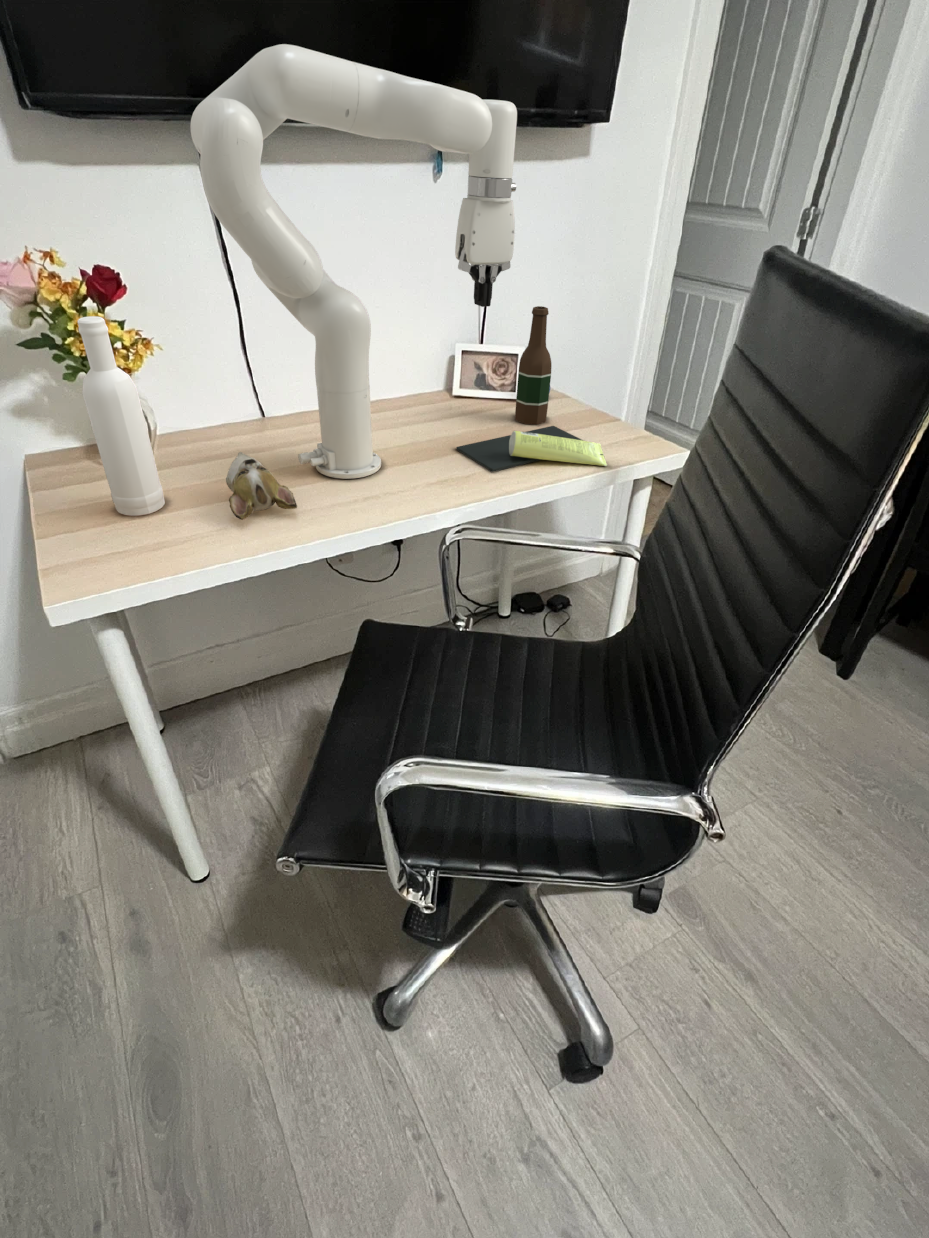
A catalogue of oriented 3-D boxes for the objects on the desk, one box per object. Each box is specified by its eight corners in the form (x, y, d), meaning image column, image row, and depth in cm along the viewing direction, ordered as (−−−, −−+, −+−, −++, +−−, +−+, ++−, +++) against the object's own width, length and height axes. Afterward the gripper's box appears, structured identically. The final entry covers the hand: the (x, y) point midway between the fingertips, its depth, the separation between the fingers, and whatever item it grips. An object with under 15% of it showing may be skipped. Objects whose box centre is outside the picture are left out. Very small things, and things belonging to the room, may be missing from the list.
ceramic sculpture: (268, 438, 120) (297, 474, 110) (274, 482, 126) (302, 521, 116) (206, 448, 116) (231, 487, 106) (215, 494, 121) (239, 535, 111)
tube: (507, 461, 138) (598, 471, 142) (513, 456, 134) (607, 466, 137) (509, 433, 138) (600, 443, 142) (515, 427, 133) (609, 437, 137)
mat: (492, 472, 133) (492, 469, 133) (456, 449, 142) (456, 446, 142) (592, 447, 145) (592, 444, 145) (553, 428, 154) (553, 425, 154)
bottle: (150, 491, 121) (103, 310, 104) (175, 505, 118) (130, 319, 100) (106, 506, 116) (49, 318, 99) (131, 521, 112) (76, 328, 95)
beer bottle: (508, 414, 160) (516, 304, 146) (539, 412, 162) (550, 303, 148) (520, 426, 154) (530, 312, 140) (552, 424, 156) (565, 311, 142)
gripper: (512, 189, 124) (503, 299, 134) (440, 187, 117) (437, 303, 127) (537, 192, 119) (526, 307, 129) (464, 191, 112) (458, 312, 122)
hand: (482, 305), depth 128 cm, fingers closed
